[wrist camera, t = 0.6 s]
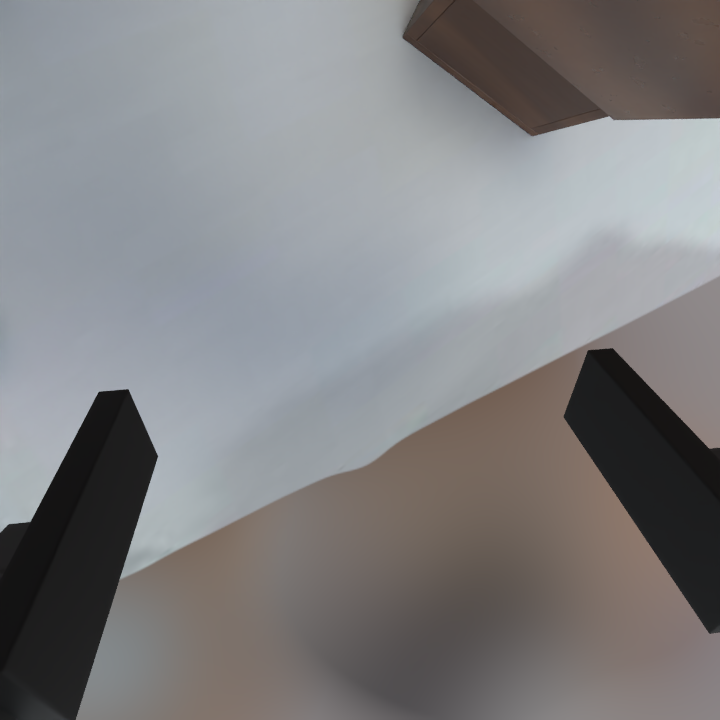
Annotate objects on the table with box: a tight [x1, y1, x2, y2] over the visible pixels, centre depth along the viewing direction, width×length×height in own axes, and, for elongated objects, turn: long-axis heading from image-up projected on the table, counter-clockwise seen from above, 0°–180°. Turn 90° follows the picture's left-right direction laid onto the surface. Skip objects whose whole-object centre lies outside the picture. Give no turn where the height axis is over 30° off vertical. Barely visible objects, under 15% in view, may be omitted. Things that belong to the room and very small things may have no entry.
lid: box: [473, 0, 720, 120], centre depth 18 cm, size 17×13×1 cm
